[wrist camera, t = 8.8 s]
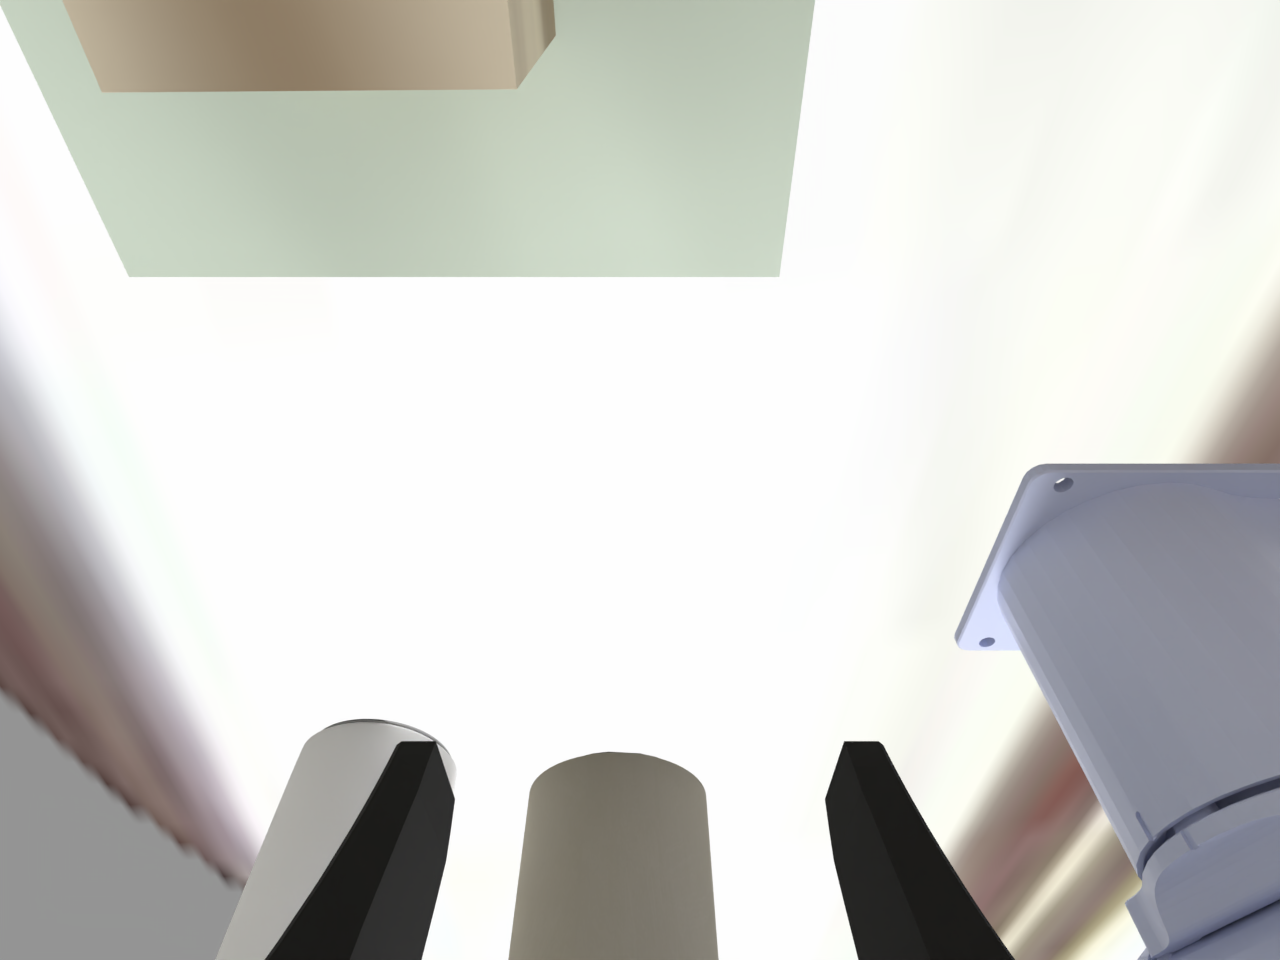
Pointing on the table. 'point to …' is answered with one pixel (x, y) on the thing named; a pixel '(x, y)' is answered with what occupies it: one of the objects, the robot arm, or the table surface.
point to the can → (313, 826)
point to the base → (460, 156)
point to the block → (311, 44)
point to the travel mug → (615, 863)
